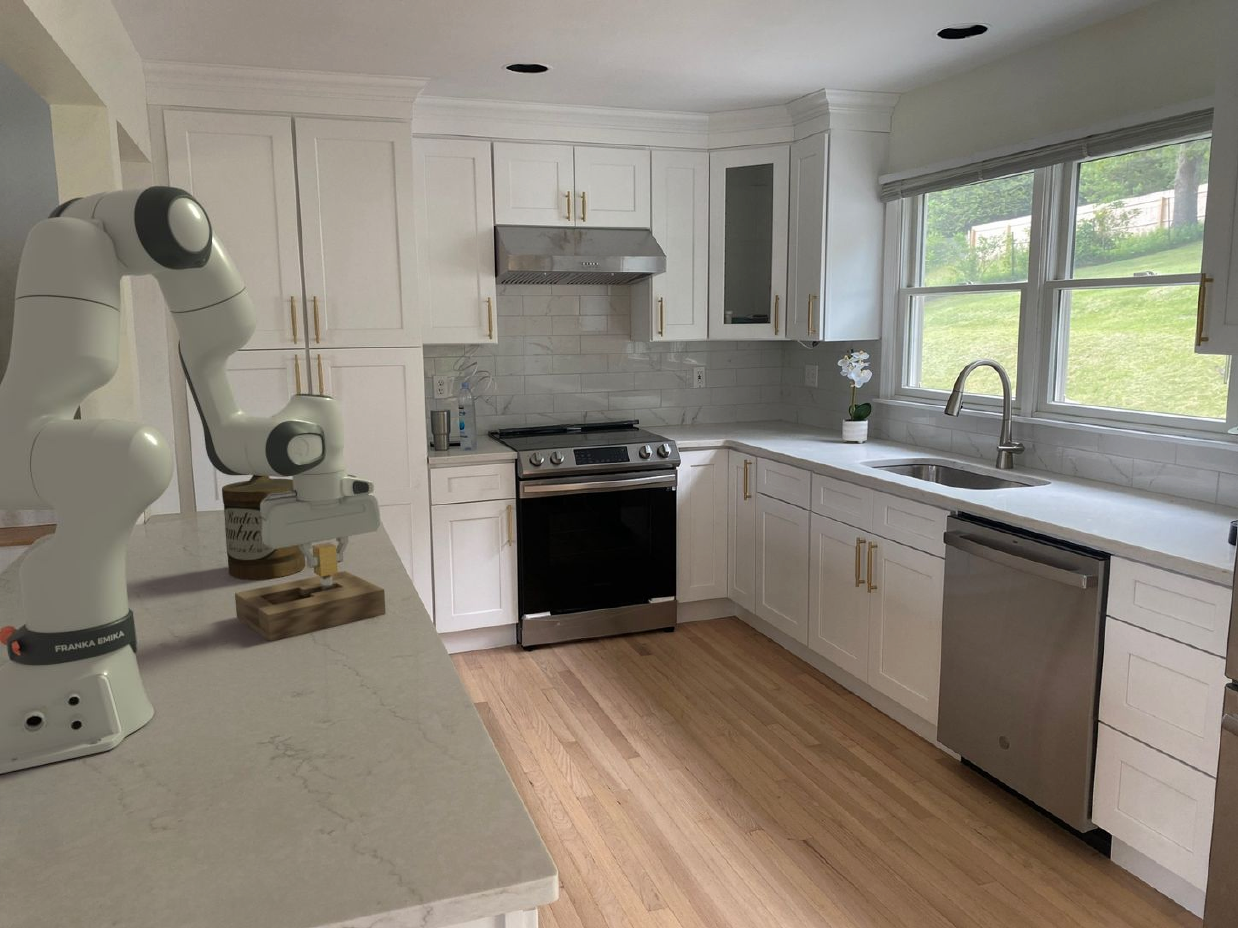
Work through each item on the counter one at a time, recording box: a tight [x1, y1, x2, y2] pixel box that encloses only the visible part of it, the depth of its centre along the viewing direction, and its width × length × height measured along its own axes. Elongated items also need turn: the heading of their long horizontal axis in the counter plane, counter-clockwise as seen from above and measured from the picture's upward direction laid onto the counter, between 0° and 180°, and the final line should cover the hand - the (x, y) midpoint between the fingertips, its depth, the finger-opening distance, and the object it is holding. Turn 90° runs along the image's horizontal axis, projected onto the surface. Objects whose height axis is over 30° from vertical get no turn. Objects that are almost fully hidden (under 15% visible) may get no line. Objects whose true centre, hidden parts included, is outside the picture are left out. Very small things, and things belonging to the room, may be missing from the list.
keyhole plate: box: [234, 570, 387, 642], centre depth 153 cm, size 20×16×4 cm
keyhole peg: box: [311, 542, 339, 591], centre depth 155 cm, size 5×5×10 cm
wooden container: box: [221, 475, 306, 581], centre depth 181 cm, size 15×15×22 cm
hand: (325, 564), depth 154 cm, fingers closed on keyhole peg, 3 cm apart
